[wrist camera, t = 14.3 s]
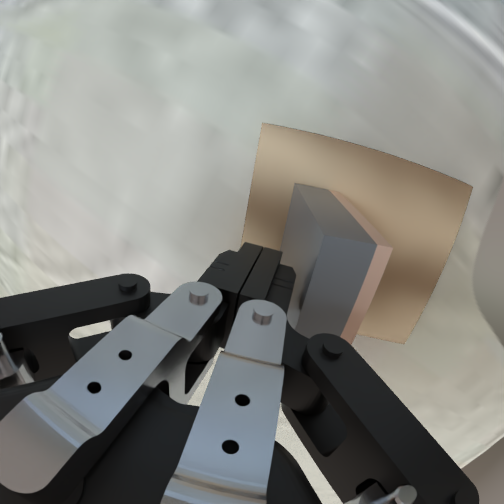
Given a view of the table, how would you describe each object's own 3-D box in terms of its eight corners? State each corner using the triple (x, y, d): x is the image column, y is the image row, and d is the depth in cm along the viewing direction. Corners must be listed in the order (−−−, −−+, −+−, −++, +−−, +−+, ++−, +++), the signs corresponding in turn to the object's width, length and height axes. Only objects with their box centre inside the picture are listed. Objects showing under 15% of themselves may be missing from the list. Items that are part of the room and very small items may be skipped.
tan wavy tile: (265, 123, 15) (262, 123, 14) (467, 184, 13) (472, 186, 12) (235, 294, 20) (231, 301, 19) (402, 336, 18) (404, 344, 17)
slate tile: (294, 182, 14) (323, 235, 8) (339, 192, 14) (393, 247, 9) (271, 284, 17) (279, 372, 11) (311, 289, 17) (334, 375, 11)
